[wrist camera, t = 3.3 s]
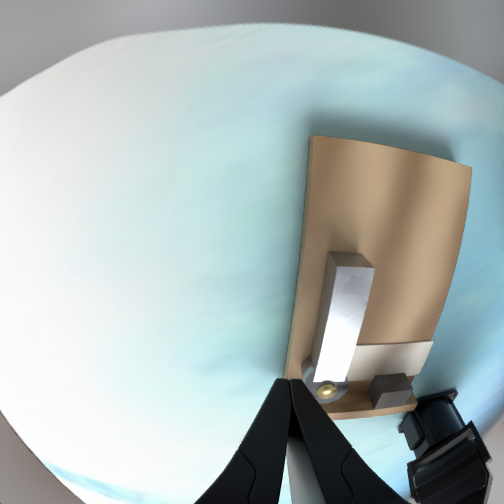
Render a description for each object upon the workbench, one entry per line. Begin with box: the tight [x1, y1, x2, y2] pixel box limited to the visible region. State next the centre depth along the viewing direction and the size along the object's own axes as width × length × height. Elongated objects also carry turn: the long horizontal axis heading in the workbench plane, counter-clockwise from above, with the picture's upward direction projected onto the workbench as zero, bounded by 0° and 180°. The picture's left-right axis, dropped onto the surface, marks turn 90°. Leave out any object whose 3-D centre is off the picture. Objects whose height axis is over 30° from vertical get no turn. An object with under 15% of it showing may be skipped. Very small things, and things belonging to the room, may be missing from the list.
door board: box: [283, 135, 472, 420], centre depth 18 cm, size 12×20×4 cm, turn 177°
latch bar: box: [301, 251, 375, 404], centre depth 17 cm, size 11×3×3 cm, turn 177°
